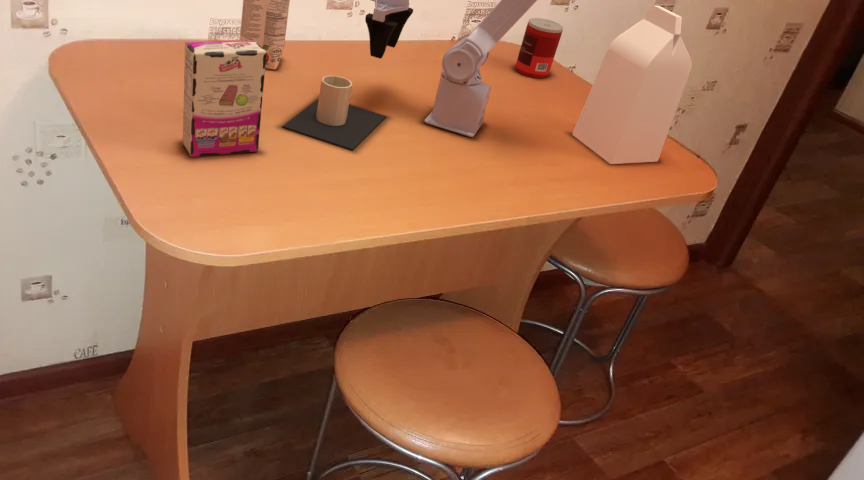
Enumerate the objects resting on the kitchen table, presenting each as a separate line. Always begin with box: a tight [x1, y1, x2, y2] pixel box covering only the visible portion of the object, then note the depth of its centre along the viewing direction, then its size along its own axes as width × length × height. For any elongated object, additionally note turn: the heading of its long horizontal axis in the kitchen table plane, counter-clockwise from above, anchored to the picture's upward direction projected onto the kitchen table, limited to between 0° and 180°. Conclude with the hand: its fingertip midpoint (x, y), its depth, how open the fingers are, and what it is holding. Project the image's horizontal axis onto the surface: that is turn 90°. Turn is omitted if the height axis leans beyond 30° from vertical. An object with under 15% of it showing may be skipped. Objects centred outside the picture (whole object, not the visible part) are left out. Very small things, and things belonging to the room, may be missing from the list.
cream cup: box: [316, 74, 353, 126], centre depth 137 cm, size 5×5×7 cm
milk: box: [571, 5, 693, 165], centre depth 144 cm, size 12×12×26 cm
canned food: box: [515, 17, 564, 79], centre depth 176 cm, size 8×8×11 cm
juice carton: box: [239, 0, 291, 70], centre depth 151 cm, size 8×9×19 cm
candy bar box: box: [182, 40, 266, 158], centre depth 120 cm, size 11×5×16 cm, turn 118°
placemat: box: [281, 97, 387, 151], centre depth 139 cm, size 13×17×1 cm
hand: (382, 51), depth 146 cm, fingers open, 7 cm apart
